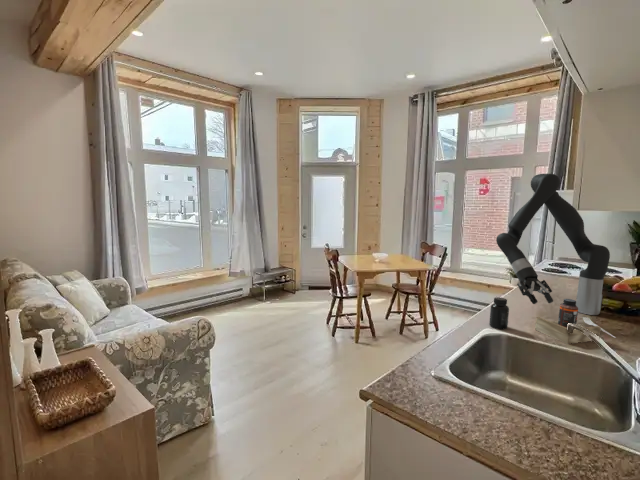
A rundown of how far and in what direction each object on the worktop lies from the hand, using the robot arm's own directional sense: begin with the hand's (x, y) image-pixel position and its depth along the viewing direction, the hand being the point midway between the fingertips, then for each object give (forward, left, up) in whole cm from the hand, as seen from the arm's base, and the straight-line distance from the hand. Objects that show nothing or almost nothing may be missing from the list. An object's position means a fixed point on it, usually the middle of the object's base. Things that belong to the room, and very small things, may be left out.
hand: (543, 302), depth 149 cm
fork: (-22, +8, -10) cm, 26 cm away
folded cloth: (0, +11, -10) cm, 15 cm away
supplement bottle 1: (+21, -2, -10) cm, 23 cm away
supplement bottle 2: (0, +11, -7) cm, 13 cm away
